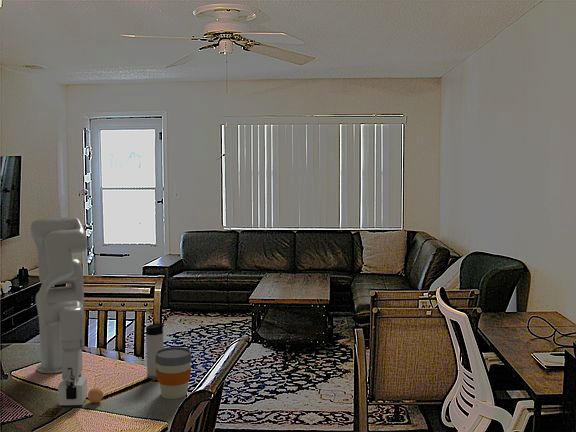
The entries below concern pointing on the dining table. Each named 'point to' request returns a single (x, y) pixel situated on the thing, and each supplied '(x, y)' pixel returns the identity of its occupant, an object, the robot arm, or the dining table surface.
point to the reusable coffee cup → (173, 371)
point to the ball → (95, 395)
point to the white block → (80, 392)
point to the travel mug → (153, 347)
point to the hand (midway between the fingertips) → (74, 393)
